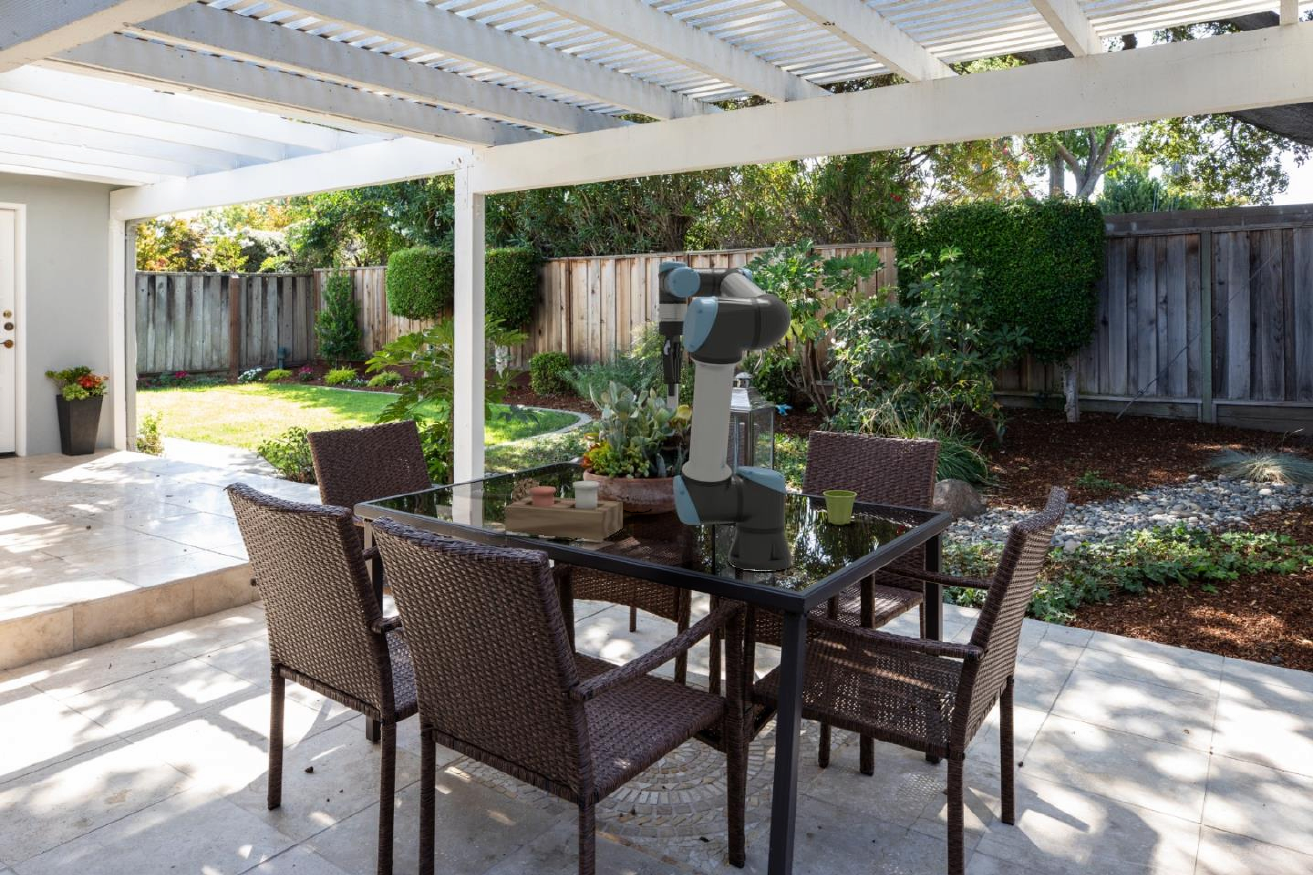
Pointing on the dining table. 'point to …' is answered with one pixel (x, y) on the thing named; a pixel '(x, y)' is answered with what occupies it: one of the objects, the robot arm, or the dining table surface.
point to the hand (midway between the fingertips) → (672, 408)
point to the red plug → (543, 495)
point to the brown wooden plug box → (565, 519)
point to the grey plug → (586, 494)
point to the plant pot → (839, 506)
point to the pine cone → (523, 489)
